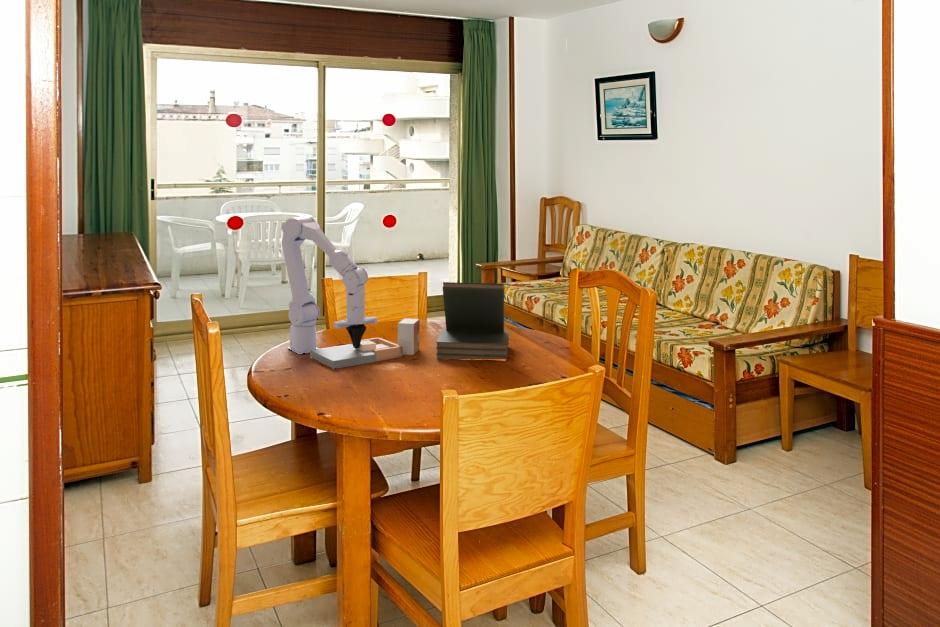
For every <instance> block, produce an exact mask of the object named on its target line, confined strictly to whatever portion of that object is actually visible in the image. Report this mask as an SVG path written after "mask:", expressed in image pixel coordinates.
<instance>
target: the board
mask: <svg viewBox="0 0 940 627" xmlns="http://www.w3.org/2000/svg"><path fill="white" fill-rule="evenodd" d="M310 357H312V358H314V359H315V360H314V359H313V360H314V361H316V360H318V361H319V362H318V361H317V362H318V363H320V362H321V363H320V364H322V363H323V365H324V364H325V365H324V366H326V365H327V367H328V366H329V367H328V368H330V367H331V369H333V370H336V369H341V368H346V367H353V366H359V365H365V363H366V364H371V363H377V361H376V354H375V353H372V352H370V351H368V350H367V351H361V350H359V349H356V348H353V344H352V343H348V344H343V345H336V346H329V347H322V348H319V349H314V350H310V353H309V358H310ZM312 358H311V359H312ZM335 368H336V369H335Z"/></svg>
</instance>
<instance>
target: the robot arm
mask: <svg viewBox="0 0 940 627" xmlns="http://www.w3.org/2000/svg"><path fill="white" fill-rule="evenodd" d="M281 230H282V239H281V248H282V252H283V255H284V256H283V258H284V261H285V266H286V271H287V272H286V273H287V276H288V280H289V285H290V286H289V287H290V291H291V295H292V297H291V299H290V301H289V302H288V315H287V316H288V319H289V322H290V323H291V325H290V327H289V346H288V347H287V350H289V349H290V350H289V351H291V350H292V351H291V352H293V353H296V354H298V355H304V354H303V353H305V354H310V350H314V349H320V348H319V347H317V326H316V325H317V320H318V319H319V317H320V315H321V314H320V313H321V310H320V308H319V305H318V304H317V303H316V298H315V297H314V296H313V295H312V294H310V290H309V284H308V281H307V276H306V270H305V266H304V261H303V256H302V251H301V246H302V244H303V243H304V242H305V240H307V241H312V242H313V243H314V244H315V245H316V246H317V247H318V248H319V249H320V250H321V251H322V252H323V253H324V254H325V255H327V256H328V262H329V264H330V265H331V266H332V267H333V269H334V270H336V272H337V273H338V274H339V275H340V276H341V279H342V283H343V285H344V287H345V292H346V318H345V319H343V320H342V319H341V320H337V321H333V328H334V329H337V330H340V329H342V328H345V329H346V331H347V333H348V335H349V337H350V340H351V344H353V348H356V349H357V348H359V347H360V343H361V340H363V336H364V334H365V332H366V330H367V326H366V325H370V324H371V325H373V324H374V325H376V324H378V317H376V316H365V315H366V303H365V302H366V298H365V297H366V295H365V294H366V292H365V291H366V289H365V286H366V284H367V282H368V280H369V276H368V272H367V271H366V269H365V268H364V267H362V266H358V264H357V263H355V262H354V261H353V260H352V259H351V258H350V257H349V256H348V255H349V253H347V252H346V251H344V250H342V249H341V250H340V249H339V250H338V249H337V248H336V246H335V245H334V244H333V242H331V240H330V239H329V238H328V236H327V235H326V234H325V232H324V231H323V230H322V229H321V227H320V223H319V222H317V221H316V219H315V218H314V217H312V216H311V215H304V216H298V217H297V216H296V217H289V218H287V219H286V220H285V222H283V224H282V225H281Z"/></svg>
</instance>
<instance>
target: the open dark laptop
mask: <svg viewBox="0 0 940 627" xmlns="http://www.w3.org/2000/svg"><path fill="white" fill-rule="evenodd" d="M442 284H443V286H442V297H443V306H444V307H443V308H444V318H445V328H441V329H440V332H439V334H438V337H437V340H436V342H435V343H436V347H435V349H436V353H435V355H436V360H437V359H507V360H508V356H509V347H508V345H509V342H510V341H509V340H510V330H505V284H504V283H491V282H490V283H487V282H485V283H484V282H483V283H482V282H450V281H449V282H447V281H446V282H445V281H443V282H442Z"/></svg>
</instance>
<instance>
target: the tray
mask: <svg viewBox="0 0 940 627" xmlns="http://www.w3.org/2000/svg"><path fill="white" fill-rule="evenodd" d="M367 340H369V341H371V342H374V343H376V345H377V344H384V345H386V346H389V347H390V348H384V349H377V350H374V353H375V354H376V362H380V361H387V360H393V359H398V358H403V355H404V354H403V351H402V346H400V345H398V343H394V342H393V341H390V340H386V339H385V338H381V337H371V338H366V339H361V341H367ZM368 351H369V350H368Z"/></svg>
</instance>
